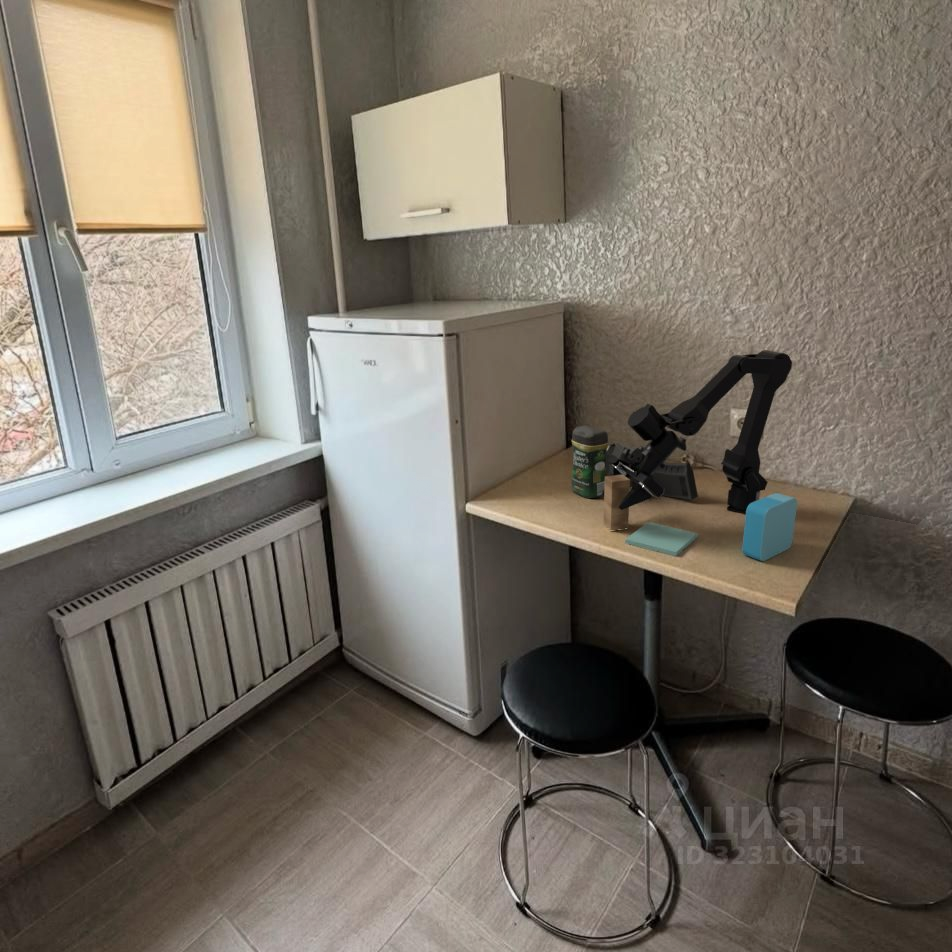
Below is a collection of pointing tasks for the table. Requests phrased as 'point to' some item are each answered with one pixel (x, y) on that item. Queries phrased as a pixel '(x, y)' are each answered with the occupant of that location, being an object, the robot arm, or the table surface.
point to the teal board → (661, 538)
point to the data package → (769, 526)
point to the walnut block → (615, 502)
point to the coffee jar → (589, 461)
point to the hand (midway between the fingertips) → (611, 502)
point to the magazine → (668, 477)
